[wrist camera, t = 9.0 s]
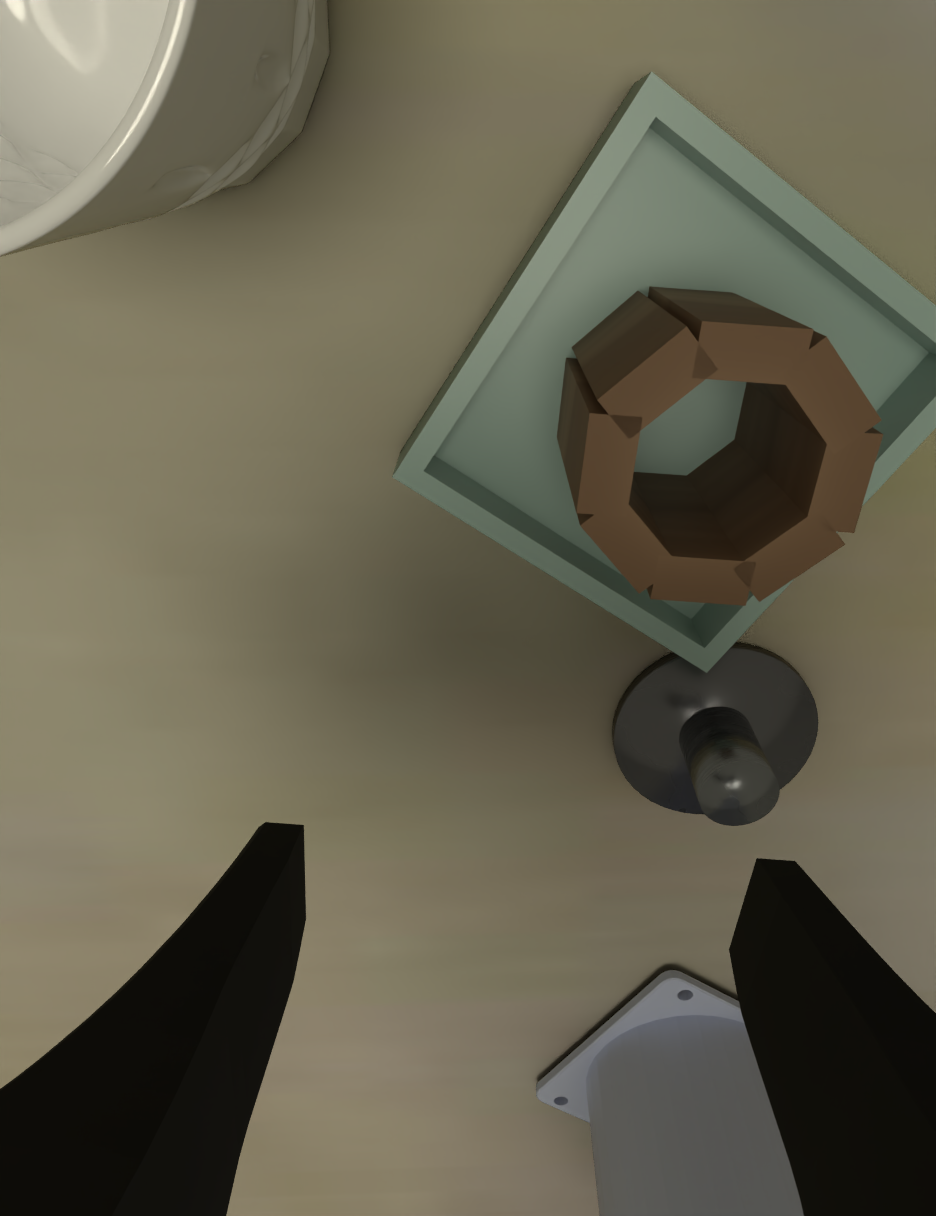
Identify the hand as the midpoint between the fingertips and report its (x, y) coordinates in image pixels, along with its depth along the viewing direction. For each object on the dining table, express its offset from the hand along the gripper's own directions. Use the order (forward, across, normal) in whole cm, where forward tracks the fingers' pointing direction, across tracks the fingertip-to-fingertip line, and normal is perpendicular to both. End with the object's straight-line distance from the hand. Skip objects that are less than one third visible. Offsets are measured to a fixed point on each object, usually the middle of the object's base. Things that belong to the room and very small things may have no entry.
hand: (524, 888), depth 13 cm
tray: (+10, -3, -6) cm, 12 cm away
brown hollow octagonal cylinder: (+9, -3, -6) cm, 11 cm away
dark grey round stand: (+10, -6, +3) cm, 12 cm away
